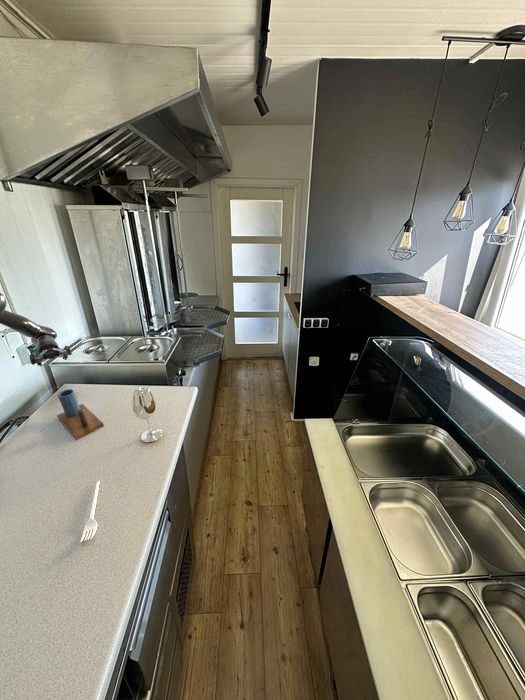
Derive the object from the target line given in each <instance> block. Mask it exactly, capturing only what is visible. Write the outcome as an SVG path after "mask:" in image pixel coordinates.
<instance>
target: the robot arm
mask: <svg viewBox="0 0 525 700" xmlns="http://www.w3.org/2000/svg"><path fill="white" fill-rule="evenodd" d="M6 307H7V298H6V296H5V295H4V294H3V293H1V292H0V324H1V325H2V326H5V327H7V328H9V329H11V330H13V331H16V332H17V333H19V334H21V335H22V336H25V337H26V338H30V342H31V343H32V345H34V346H35V347H36V348H37V352H38V353H37V354H33V353H30V354H29V362H30V364H31V365H32V366H33V365H37V366H38V367H43V363H45V362H46V361H48V360H52V359H53V360H54V359H55V358H56V359H57V358H64V361H65V360H67V359H69V356H72V355H73V353H72V350H71V348H70V347H69V345H65V346H64V347H63V348H60V346H59V343H58V342H57V341H56V339H57V337H58V333H57V331H55V330H54V329H53V328H51V327H48V326H45V325H41V324H38V323H36V322H34V321H32V320H31V319H29V318H27V317H26V316H24V315H20V314H17V313H15V312H11V311H9V310H7V309H6Z"/></svg>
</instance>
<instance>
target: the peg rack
mask: <svg viewBox="0 0 525 700" xmlns="http://www.w3.org/2000/svg"><path fill="white" fill-rule="evenodd" d="M79 406H80V409H81V410H78V411H77V413H78V415H76V416H74V417H66V415H65V412H64V411H63V412H61V413H59V414H57V415H56V418H57V419H58V421H59V422H60V423H61V424H62V425H63V426H64V427H65V428H66V430H67V431H68V432H69V433H70V434H71V435H72V436H73V438H74V439H75V440H76V441H77V440H79V439H81V438H83V437H85V436H87V435H89V434H91V433H93V432H95V431H97V430H99V429H101V428H102V427H104V426H105V425H104V422H103V421H102V420H100V419H99V418H98V417H97V416H96V415H95V413H93V412H92V411H91V410H90V409H89V408H88V407H87V406H85V404H83V403H81V404H79Z"/></svg>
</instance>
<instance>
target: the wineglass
mask: <svg viewBox="0 0 525 700" xmlns="http://www.w3.org/2000/svg"><path fill="white" fill-rule="evenodd" d="M131 399H132V410H133V414H134V416H135V417H136V418H138V419H139V420H146V423H147V426H148V429H146V430H145V431H144V432H143V433H141V435H140V440H141V442H144V443H152V442H156V441H157V440H159V439H160V438H161V437H162V436H163V431H162V430H161V428H158V427H151V422H150V419H151V418H153V417H154V415H155V414H156V412H157V409H158V408H157V403H156V399H155V398H154V396H153V394H152V392H151V390H150V388H149V387H145V386H143V387H138V388H136V389H134V390H133V391H132V398H131Z"/></svg>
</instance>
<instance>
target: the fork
mask: <svg viewBox="0 0 525 700" xmlns="http://www.w3.org/2000/svg"><path fill="white" fill-rule="evenodd" d="M100 483H101V480H97V481H96V485H95V490H94V494H93V499H92V503H91V509H90V514H89V517H88V520H87V521H86V523H85V525H84V527H83V532H82V536H81V539H80V543H82V542H85V541H89V540H92V539H93V538H94V536H95V534H96V532H97V530H98V522H97V521H96V519H95V513H96V507H97V501H98V495H99V489H100V485H101V484H100Z"/></svg>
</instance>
